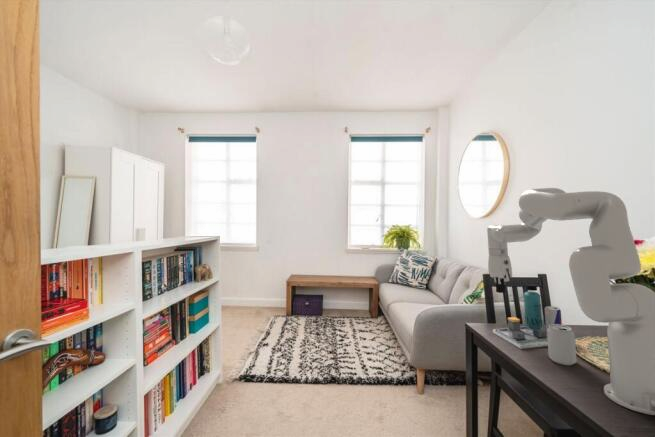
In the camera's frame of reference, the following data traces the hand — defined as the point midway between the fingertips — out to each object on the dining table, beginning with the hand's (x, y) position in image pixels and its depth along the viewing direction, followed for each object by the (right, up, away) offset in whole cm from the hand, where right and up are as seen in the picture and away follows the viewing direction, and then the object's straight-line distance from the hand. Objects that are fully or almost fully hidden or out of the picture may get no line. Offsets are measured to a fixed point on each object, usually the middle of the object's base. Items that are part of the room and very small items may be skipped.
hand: (500, 292), depth 129 cm
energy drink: (+15, -16, -12) cm, 25 cm away
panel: (+2, -16, -11) cm, 20 cm away
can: (+3, -16, -30) cm, 35 cm away
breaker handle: (+2, -15, -7) cm, 16 cm away
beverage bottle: (+13, -16, -3) cm, 21 cm away
